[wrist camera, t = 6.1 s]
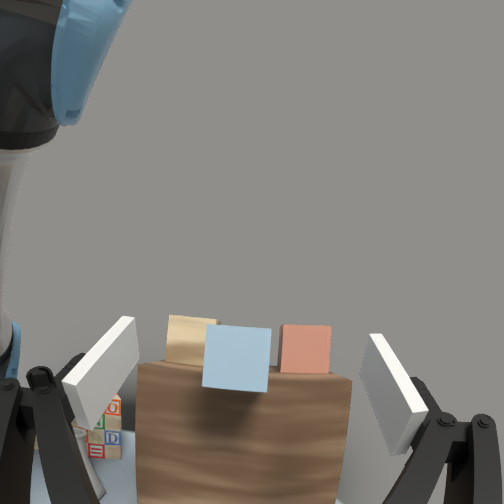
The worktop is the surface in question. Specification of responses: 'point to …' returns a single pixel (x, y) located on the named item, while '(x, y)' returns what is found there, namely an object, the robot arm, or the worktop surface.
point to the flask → (88, 462)
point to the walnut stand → (239, 438)
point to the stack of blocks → (104, 433)
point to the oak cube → (187, 339)
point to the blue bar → (236, 358)
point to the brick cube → (304, 349)
